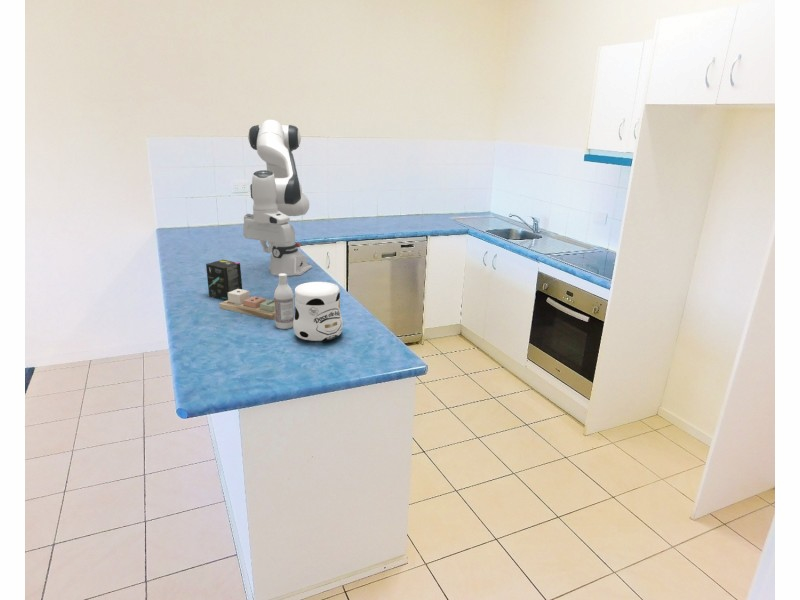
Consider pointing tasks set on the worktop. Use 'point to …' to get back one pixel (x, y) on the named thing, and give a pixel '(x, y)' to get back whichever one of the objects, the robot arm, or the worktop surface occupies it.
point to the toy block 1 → (238, 296)
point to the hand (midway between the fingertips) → (267, 252)
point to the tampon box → (223, 278)
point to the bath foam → (283, 304)
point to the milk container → (317, 312)
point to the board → (247, 310)
